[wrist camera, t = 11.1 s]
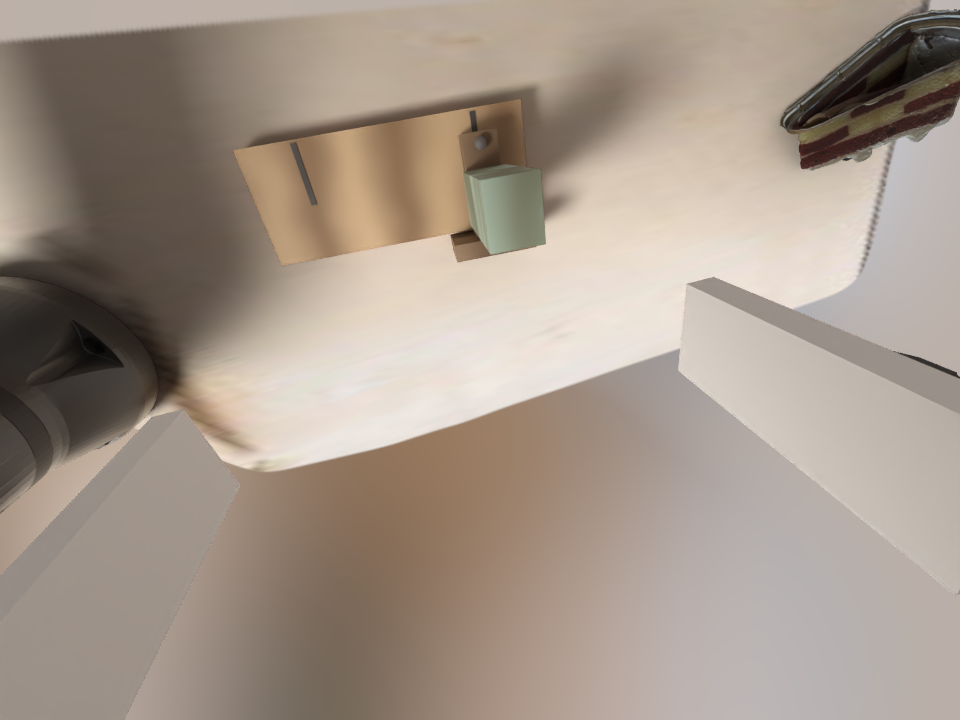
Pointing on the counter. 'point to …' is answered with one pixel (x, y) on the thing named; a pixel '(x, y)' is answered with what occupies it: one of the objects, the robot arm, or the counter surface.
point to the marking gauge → (497, 201)
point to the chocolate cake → (882, 92)
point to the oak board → (372, 182)
